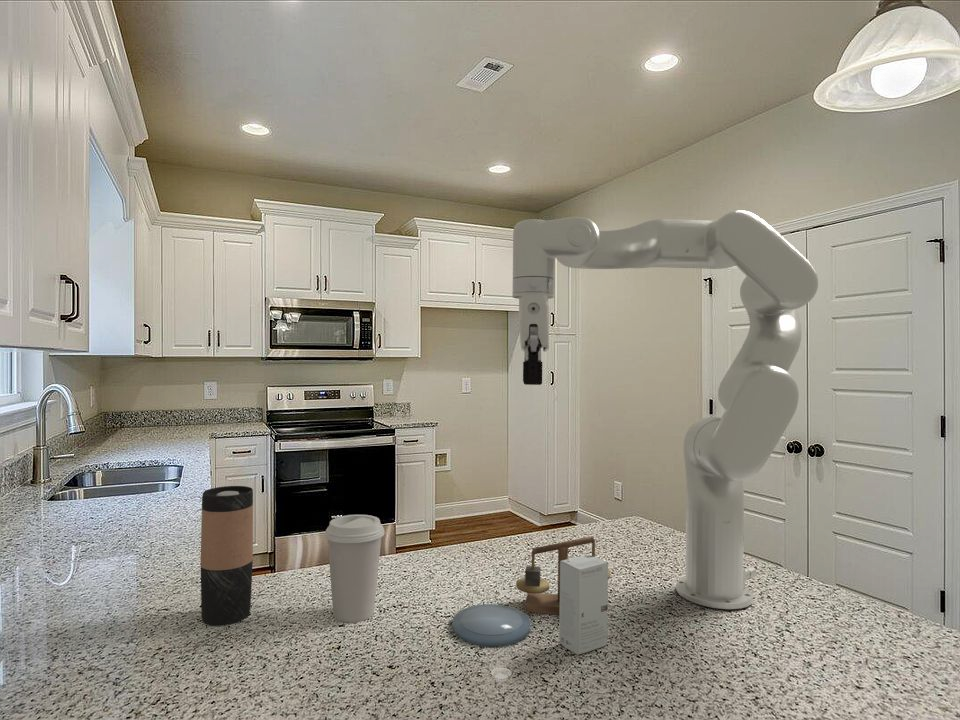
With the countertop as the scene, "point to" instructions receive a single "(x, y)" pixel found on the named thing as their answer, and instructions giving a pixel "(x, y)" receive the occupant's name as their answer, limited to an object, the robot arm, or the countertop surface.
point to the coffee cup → (354, 565)
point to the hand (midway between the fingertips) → (532, 383)
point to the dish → (491, 625)
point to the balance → (538, 585)
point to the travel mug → (226, 554)
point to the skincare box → (583, 604)
